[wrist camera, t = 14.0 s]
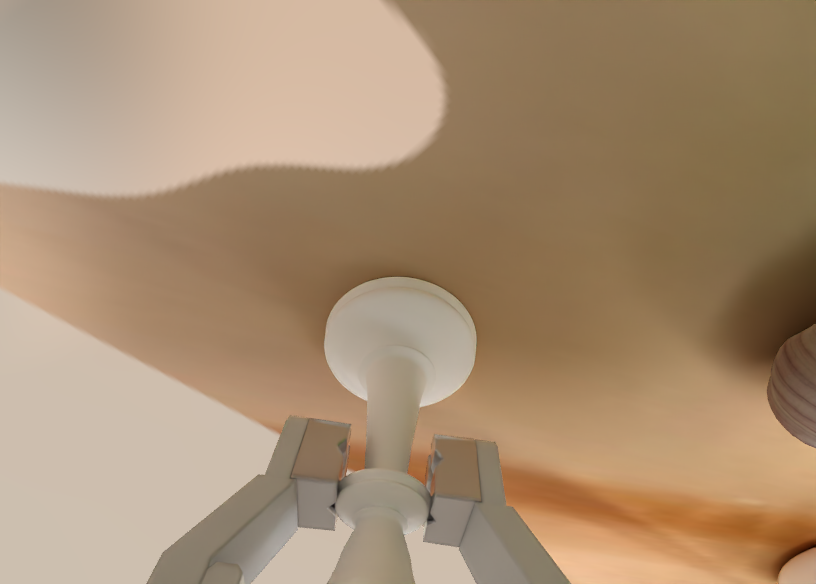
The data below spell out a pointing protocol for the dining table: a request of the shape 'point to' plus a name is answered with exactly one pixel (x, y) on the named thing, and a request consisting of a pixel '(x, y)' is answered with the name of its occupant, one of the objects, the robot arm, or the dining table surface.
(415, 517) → the chess piece
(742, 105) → the dining table surface
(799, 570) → the drinking glass
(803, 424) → the garlic bulb
